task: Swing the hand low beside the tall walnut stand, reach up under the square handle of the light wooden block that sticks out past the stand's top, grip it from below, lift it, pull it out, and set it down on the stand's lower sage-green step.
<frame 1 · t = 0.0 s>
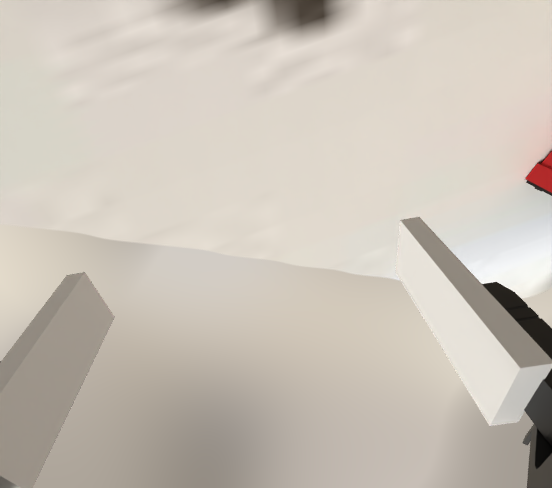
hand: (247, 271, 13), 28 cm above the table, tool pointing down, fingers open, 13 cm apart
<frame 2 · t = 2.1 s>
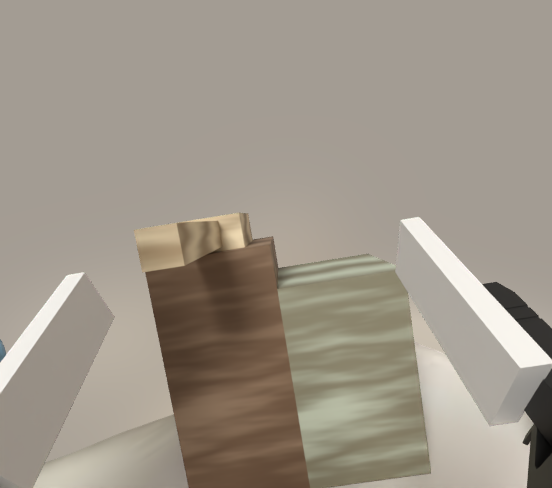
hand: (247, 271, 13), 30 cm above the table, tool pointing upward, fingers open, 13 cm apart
light wooden block: (219, 248, 40), point 29 cm above the table, touching stand
stand: (305, 444, 42), on the table
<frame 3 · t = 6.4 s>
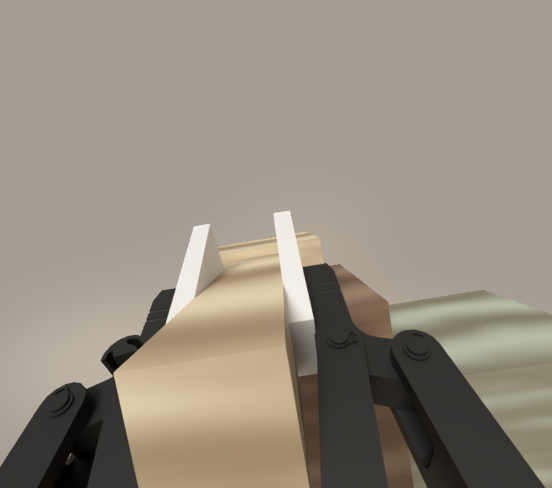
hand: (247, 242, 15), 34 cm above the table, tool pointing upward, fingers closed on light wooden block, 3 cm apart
light wooden block: (270, 291, 24), point 29 cm above the table, touching gripper, stand
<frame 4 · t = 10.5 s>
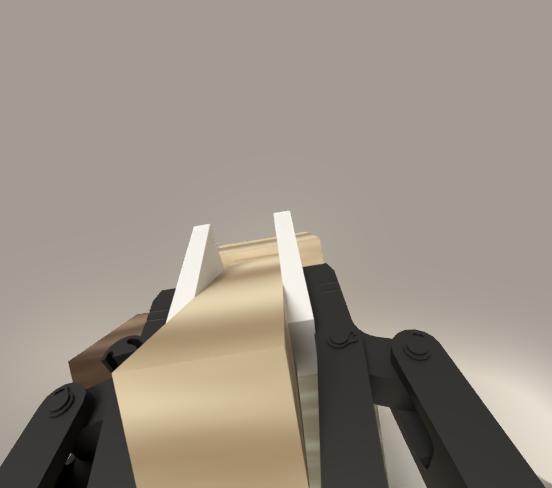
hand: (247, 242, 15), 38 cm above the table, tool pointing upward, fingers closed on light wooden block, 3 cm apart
light wooden block: (269, 291, 24), point 33 cm above the table, touching gripper
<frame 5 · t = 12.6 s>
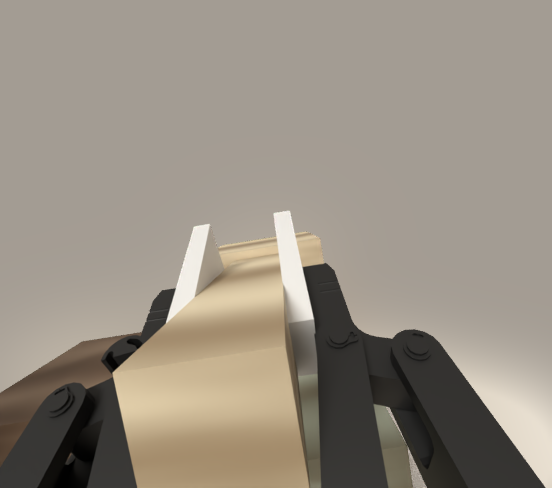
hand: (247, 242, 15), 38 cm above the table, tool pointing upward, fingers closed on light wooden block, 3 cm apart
light wooden block: (270, 291, 24), point 33 cm above the table, touching gripper
when the fingers open (30 cm above the table, at t = 14.5 s): light wooden block stays where it is, resting on stand.
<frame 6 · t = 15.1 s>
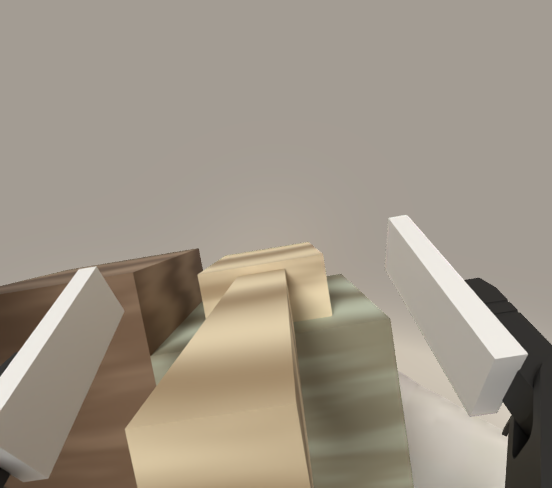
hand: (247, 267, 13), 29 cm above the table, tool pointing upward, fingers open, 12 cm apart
light wooden block: (272, 303, 24), point 24 cm above the table, touching stand
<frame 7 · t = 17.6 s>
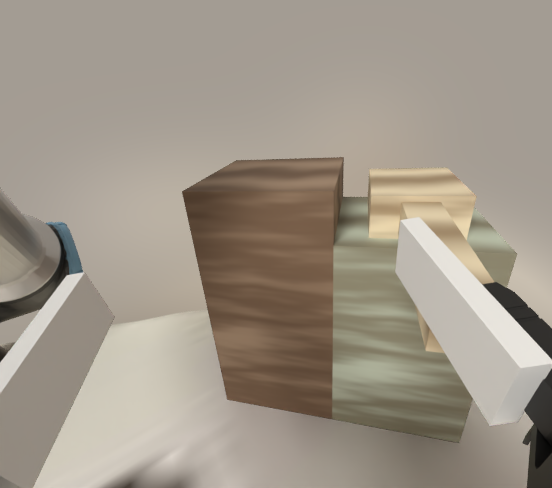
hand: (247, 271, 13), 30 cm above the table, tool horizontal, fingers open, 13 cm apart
light wooden block: (408, 218, 31), point 24 cm above the table, touching stand
stand: (336, 373, 44), on the table
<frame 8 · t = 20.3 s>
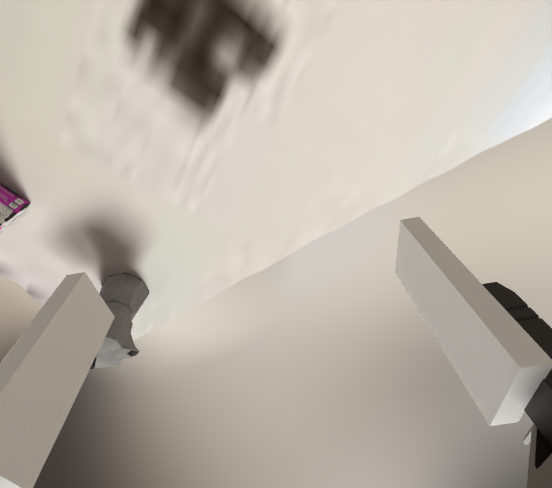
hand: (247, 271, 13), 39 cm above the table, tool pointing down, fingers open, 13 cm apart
coffeepot: (120, 288, 63), on the table
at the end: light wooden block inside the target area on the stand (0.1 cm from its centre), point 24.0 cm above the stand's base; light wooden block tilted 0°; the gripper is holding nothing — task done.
